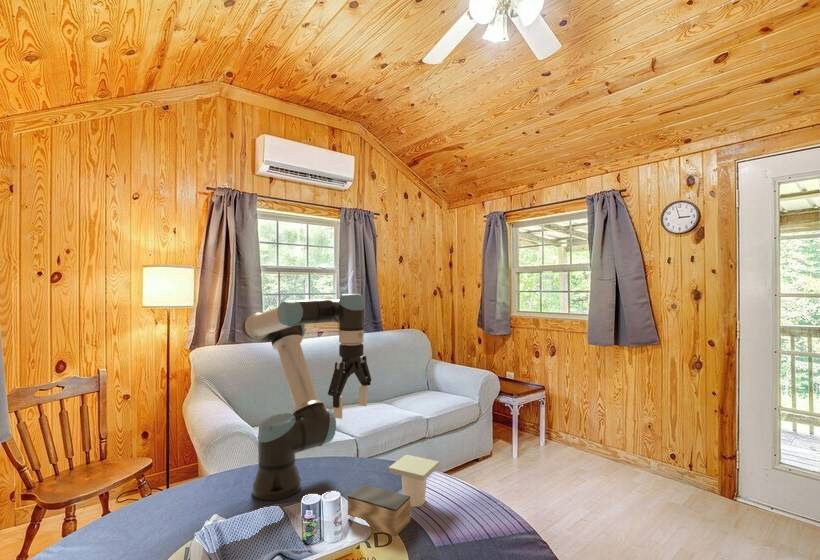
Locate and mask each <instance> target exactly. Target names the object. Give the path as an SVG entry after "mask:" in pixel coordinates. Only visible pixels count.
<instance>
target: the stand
mask: <svg viewBox="0 0 820 560" xmlns="http://www.w3.org/2000/svg"><path fill="white" fill-rule="evenodd" d="M348 515H350V516H352V517H358V518H361V519H363V520H365V521H366V522H367V523H368V524H369V525H370V527H371V528H370V527H369V528H370V529H374V530H375V531H379V532H382V533H386V534H389V535H392V536H395V537H398V534H400V533H401V532H402V531H403V529H404V528H405V527H406V526H407V525H409V523H410V522H411V507H410V496H407V495H403V493H399V492H395V491H391V490H387V489H384V488H380V487H377V486H373V485H369V484H365V483H364V484H362V485H361V486H359V487H357V488H356V489H355V490H354V491H352V492H351V493H350V494H348V495H347V516H348Z"/></svg>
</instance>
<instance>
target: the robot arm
mask: <svg viewBox="0 0 820 560" xmlns="http://www.w3.org/2000/svg"><path fill="white" fill-rule="evenodd" d="M364 304H365V303H364V296H363V295H362V294H361V293H360V294H359V293H341V294H340V295H339V299H338V298H333V297H331V298H324V299H300V300H298V299H290V300H282V301H281V302H280V303H279V305H278V307H276V308H273V309H271V310H267V311H265V312H254V313H251V314H248V315H247V316H245V317H244V318H243V321H242V322H241V325H240V326H241V327H240V331H241V333H242V335H243V336H244V338H245V339H246V340H248V341H250V342H253V343H259V344H263V343H265V344H266V343H271V346H272V349H274V350H275V351H277V352H278V356H279V359H280V362H281V365H282V370H283V373H284V376H285V380H286V383H287V387H288V391H289V394H290V397H291V400H292V404H293V408H294V410H292V411H293V412H292V413H282V414H281V413H279V414H274V415H272V416H269V417H267V418H265V419H264V420H262V422H261V423H260V424H259V426H258V433H257V440H258V441H257V444H258V445H257V446H258V450H257V451H258V452H257V454H258V456H257V457H258V466H257V467H258V469H257V472H256V475H255V479H254V482H253V485H252V495H253V497H254V498H256V499H258V500H261V501H277V500H283V499H286V498H289V497H291V496H293V495H295V494H296V493H297V492H298V491H300V489H301V486H302V485H301V484H302V480H301V476H300V475H299V471H298V467H297V465H296V454H297V453H301V452H303V451H304V452H305V451H307V450H310V449H314V448H316V447H321V446H323V445H326V444H328V443H330V442H331V441H332V440H333V439H334V437H335V435H336V430H337V421H336V419H339V420H340V419H343V395H342V393H343V390H344V388H345V385H346V383H347V381H348V379H349V378H350V377H351V375H353V374H354V375H355V376H356V378H357V380H358V382H359V383H360V384H359V385H358V406H361V407H367V406H368V386H370V385H371V383H372V376H371V373H370V369H369V366H368V365H369V364H368V363H367V362H368V361H367V356H366V355H364V346H365V345H364V344H363V342H364V327H365V326H364V325H365V324H364V323H365V319H364V318H365V305H364ZM324 323H338V324H339V330H338V331H339V333H338V334H339V335H338V342H339V343H340V344H339V346H338V348H339V349H338V355H339V357H341V362H340V361H335V364H334V371H333V374H332V377H331V382H330V383H329V384H330V385H329V389H328V392H327V395H328V396H331V397H332V408H333V409H330V408H326V407H325V403H324V402H323V401H321V400H319V398H318V396H317V393H316V390H315V386H314V383H313V381H312V377H311V374H310V371H309V368H308V364H307V362H306V358H305V355H304V351H303V348H302V345H301V343H302V341H303V337H304V336H305V333H306V329H305V327H306V326H305V325H309V324H324Z"/></svg>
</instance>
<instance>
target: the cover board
mask: <svg viewBox="0 0 820 560" xmlns="http://www.w3.org/2000/svg"><path fill="white" fill-rule="evenodd" d="M439 467H440V461H438V460H434V459H428V458H424V457H420V456H416V455H410V454H405V455H403V456H402V457H400V458H399V459H398V460H397V461H395V462H393V463H392V464H391V465H389V466H388V473H390V474H394V475H397V476H398V475H399V476H401V477H402V476H406V477H410V478H414V479H418V480H422V481H424V480H425V479H426V480H427V478H428V477H429V476H430V475H431V474H432V473H434V472H435V471H436V470H437V469H438V468H439Z"/></svg>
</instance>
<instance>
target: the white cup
mask: <svg viewBox="0 0 820 560" xmlns="http://www.w3.org/2000/svg"><path fill="white" fill-rule="evenodd" d="M401 484H402V485H401V486H402V488H401V489H402V494H403V495H407V496H410V508H413V507H414V508H417V507H418V508H419V507H421V506H423V505H424V504H425V502H426V493H427V492H426V490H427V478H426V479H425V480H424V481H422V480H418V479H414V478H410V477H406V476H402V475H401Z"/></svg>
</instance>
